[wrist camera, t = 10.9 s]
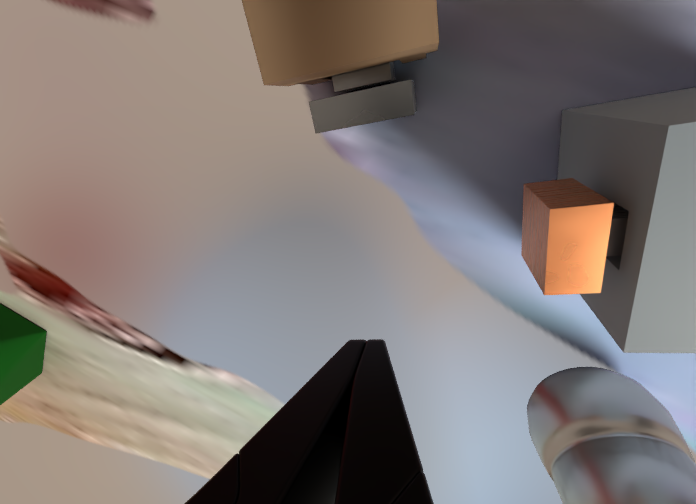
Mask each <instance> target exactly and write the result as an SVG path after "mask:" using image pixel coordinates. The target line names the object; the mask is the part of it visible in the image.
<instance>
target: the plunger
mask: <svg viewBox="0 0 696 504" xmlns="http://www.w3.org/2000/svg"><path fill="white" fill-rule="evenodd" d="M628 216H629V211H628V210H626V209H624V208H623V207H621V206H619V205H618V204H614V203H613V202H612V201H610V200H608V199H607V198H605V197H603V196H602V195H600V194H598V193H597V192H595V191H593V190H592V189H590V188H588V187H587V186H585V185H583V184H582V183H580V182H578V181H577V180H575V179H573V178H568V179H559V180H551V181H543V182H535V183H527V184H524V191H523V223H522V254H521V255H522V257H523V259H524V260H525V262H526V264H527V266H528V267H529V269H530V271H531V273H532V274H533V276H534V278H535V280H536V281H537V283H538V285H539V287H540V288H541V290H542V292H543V294H544V295H559V294H587V293H601V288H602V281H603V274H604V268H605V261H606V256H621V255H622V251H623V245H624V239H625V233H626V227H627V221H628Z"/></svg>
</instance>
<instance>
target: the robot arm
mask: <svg viewBox="0 0 696 504" xmlns="http://www.w3.org/2000/svg"><path fill="white" fill-rule="evenodd" d="M185 504H434V503H433V500H432V497H431V494H430V490H429V487H428V484H427V480H426V477H425V474H424V473H423V468H422V464H421V461H420V458H419V455H418V451H417V448H416V445H415V441H414V438H413V434H412V431H411V428H410V424H409V421H408V418H407V414H406V411H405V408H404V404H403V401H402V397H401V394H400V391H399V387H398V384H397V381H396V377H395V374H394V371H393V367H392V364H391V361H390V357H389V354H388V351H387V347H386V344H385V341H384V340H368V341H366V340H350V341H348V342H347V343H346V344H345V345H344V346H343V347H342V348H341V349H340V350H339V351H338V352H337V353H336V354H335V355H334V356H333V357H332V358H331V359H330V360H329V361H328V362H327V363H326V364H325V365H324V366H323V367H322V368H321V369H320V370H319V371H318V372H317V373H316V374H315V375H314V376H313V377H312V378H311V379H310V380H309V381H308V382H307V383H306V384H305V385H304V386H303V387H302V388H301V389H300V390H299V391H298V392H297V393H296V394H295V395H294V396H293V397H292V398H291V399H290V400H289V401H288V402H287V403H286V404H285V405H284V406H283V407H282V408H281V409H280V410H279V411H278V412H277V413H276V414H275V415H274V416H273V417H272V418H271V419H270V420H269V421H268V422H267V423H266V424H265V425H264V426H263V427H262V428H261V429H260V430H259V431H258V432H257V433H256V434H255V435H254V436H253V437H252V438H251V439H250V440H249V441H248V442H247V443H246V444H245V445H244V446H243V447H242V449H241V450H240V451H239V454H235V455H234V456H233V457H232V458H231V459H230V460H229V461H228V462H227V463H226V464H225V465H224V466H223V467H222V468H221V469H220V470H219V471H218V472H217V473H216V474H215V475H214V476H213V477H212V478H211V479H210V480H209V481H208V482H207V483H206V484H205V485H204V486H203V487H202V488H201V489H200V490H199V491H198V492H197V493H196V494H195V495H194V496H192V497H191V498H190V499H189V500H188V501H187V502H186V503H185Z"/></svg>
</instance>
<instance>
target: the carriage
mask: <svg viewBox="0 0 696 504" xmlns="http://www.w3.org/2000/svg"><path fill="white" fill-rule="evenodd" d="M242 3H243V7H244V11H245V15H246V18H247V22H248V26H249V30H250V33H251V37H252V41H253V45H254V49H255V53H256V56H257V60H258V64H259V67H260V72H261V75H262V79H263V83H264V85H276V86H291V85H295V84H311V85H313V84H318V83H322V82H326V81H330V80H332V76H333V75H337V74H341V73H346V72H350V71H354V70H358V69H362V68H366V67H371V66H375V65H379V64H383V63H387V62H392V61H396V60H400V61H401V62H402V63H407V62H411V61H415V60H420V59H424V58H426V53H429V52H433V51H437V49H438V45H439V33H438V17H437V1H436V0H242Z"/></svg>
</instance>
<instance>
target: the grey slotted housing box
mask: <svg viewBox="0 0 696 504" xmlns="http://www.w3.org/2000/svg"><path fill="white" fill-rule="evenodd" d="M568 178H573V179H575V180H577V181H578V182H580V183H582V184H583V185H585V186H587V187H588V188H590V189H592V190H593V191H595V192H597V193H598V194H600V195H602V196H603V197H605V198H607V199H608V200H610V201H612V202H613V203H614V204H618V205H619V206H621V207H623V208H624V209H626V210H628V211H629V216H628V221H627V227H626V233H625V239H624V245H623V251H622V255H621V256H606V261H605V268H604V274H603V281H602V288H601V293H587V294H580V295H581V296H582V298H583V299H584V300H585V302H586V303H587V304H588V306H589V307H590V308H591V310H592V311H593V312H594V314H595V315H596V316H597V318H598V319H599V320H600V322H601V323H602V324H603V326H604V327H605V328H606V330H607V331H608V332H609V334H610V335H611V336H612V338H613V339H614V340H615V342H616V343H617V344H618V346H619V347H620V348H621V350H622V351H623V352H624V353H696V87H693V88H688V89H682V90H676V91H670V92H665V93H659V94H653V95H647V96H641V97H636V98H630V99H624V100H618V101H612V102H607V103H601V104H595V105H589V106H583V107H578V108H572V109H566V110H562V120H561V134H560V148H559V161H558V175H557V180H559V179H568Z"/></svg>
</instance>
